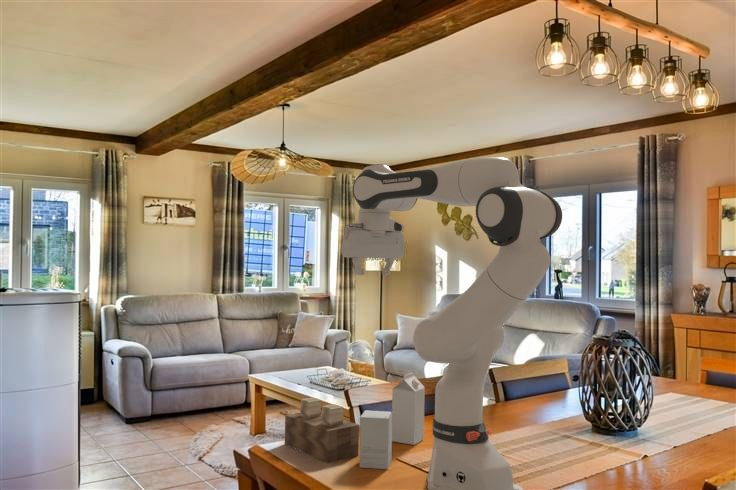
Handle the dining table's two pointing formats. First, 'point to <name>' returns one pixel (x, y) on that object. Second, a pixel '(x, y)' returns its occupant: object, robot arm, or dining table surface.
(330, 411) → the birch peg near
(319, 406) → the birch peg far
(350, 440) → the walnut block
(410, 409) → the milk carton
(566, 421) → the dining table surface
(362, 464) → the supplement box
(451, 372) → the robot arm
